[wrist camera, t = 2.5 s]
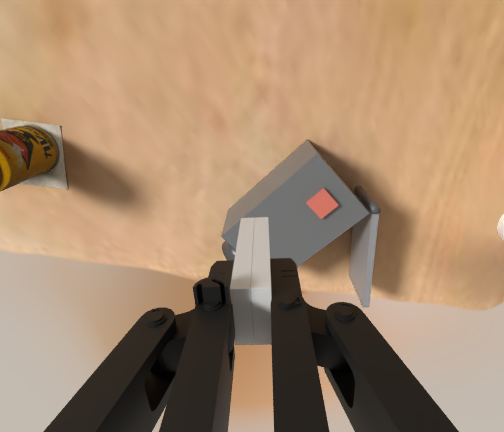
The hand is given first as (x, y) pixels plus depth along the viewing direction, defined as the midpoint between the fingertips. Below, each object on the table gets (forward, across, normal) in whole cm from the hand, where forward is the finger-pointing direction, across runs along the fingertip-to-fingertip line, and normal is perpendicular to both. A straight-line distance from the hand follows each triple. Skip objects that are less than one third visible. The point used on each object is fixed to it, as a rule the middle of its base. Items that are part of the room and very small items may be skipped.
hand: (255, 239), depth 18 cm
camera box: (+24, +3, -8) cm, 26 cm away
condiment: (+25, -29, +1) cm, 38 cm away
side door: (+24, +13, -12) cm, 30 cm away
